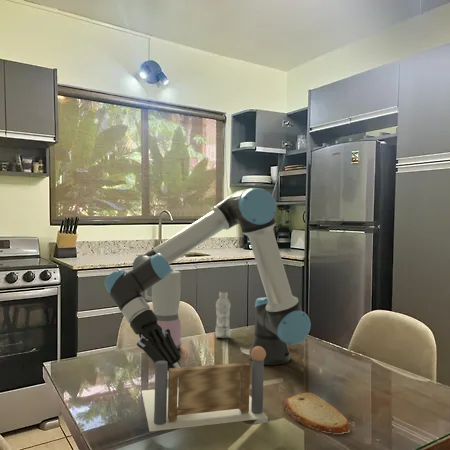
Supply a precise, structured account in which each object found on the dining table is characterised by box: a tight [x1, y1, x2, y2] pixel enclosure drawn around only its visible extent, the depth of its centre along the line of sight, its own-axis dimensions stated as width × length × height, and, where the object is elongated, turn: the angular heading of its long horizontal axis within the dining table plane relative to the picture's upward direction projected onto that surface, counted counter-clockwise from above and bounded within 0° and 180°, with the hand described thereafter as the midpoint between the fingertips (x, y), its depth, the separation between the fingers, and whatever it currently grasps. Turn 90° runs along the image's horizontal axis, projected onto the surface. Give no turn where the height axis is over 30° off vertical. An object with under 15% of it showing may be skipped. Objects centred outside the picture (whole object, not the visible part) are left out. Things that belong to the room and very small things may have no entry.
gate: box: [167, 361, 251, 421], centre depth 107 cm, size 21×2×12 cm, turn 106°
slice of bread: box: [282, 392, 351, 433], centre depth 112 cm, size 18×18×4 cm
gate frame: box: [141, 346, 269, 432], centre depth 114 cm, size 30×24×18 cm
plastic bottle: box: [214, 291, 231, 339], centre depth 182 cm, size 6×7×20 cm
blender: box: [142, 267, 183, 350], centre depth 165 cm, size 16×12×32 cm
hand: (186, 385), depth 114 cm, fingers closed
